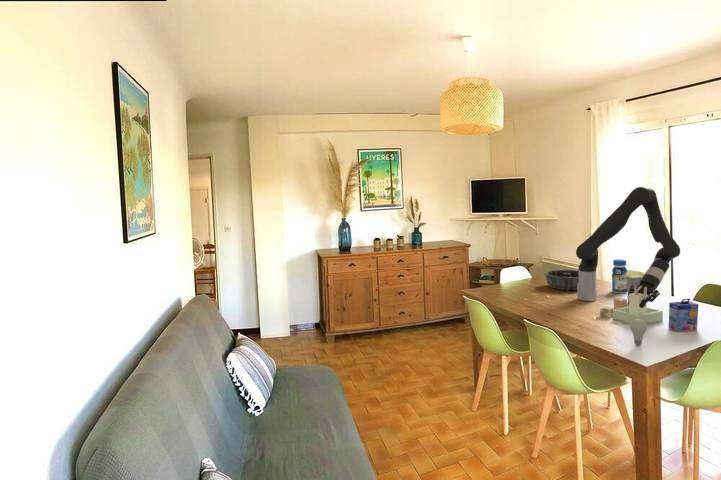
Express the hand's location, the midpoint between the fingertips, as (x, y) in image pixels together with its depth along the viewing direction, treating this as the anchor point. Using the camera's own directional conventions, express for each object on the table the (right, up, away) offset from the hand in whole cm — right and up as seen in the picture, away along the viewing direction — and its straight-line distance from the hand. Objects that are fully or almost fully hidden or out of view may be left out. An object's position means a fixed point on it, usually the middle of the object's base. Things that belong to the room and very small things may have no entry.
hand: (635, 305), depth 207 cm
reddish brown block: (+2, -6, +15) cm, 17 cm away
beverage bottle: (+27, -1, +58) cm, 64 cm away
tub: (+2, -7, +1) cm, 8 cm away
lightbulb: (-19, -12, -31) cm, 38 cm away
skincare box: (+19, -4, +29) cm, 35 cm away
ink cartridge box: (+12, -9, -15) cm, 21 cm away
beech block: (-8, -7, +10) cm, 15 cm away
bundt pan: (+4, 0, +77) cm, 77 cm away
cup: (+2, -4, +1) cm, 5 cm away
